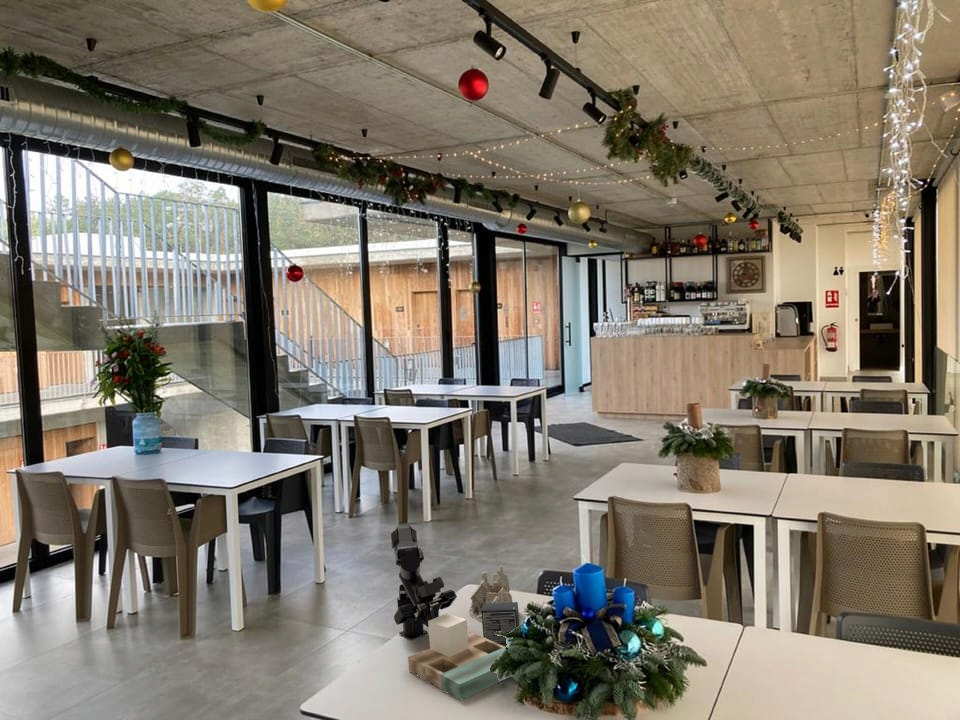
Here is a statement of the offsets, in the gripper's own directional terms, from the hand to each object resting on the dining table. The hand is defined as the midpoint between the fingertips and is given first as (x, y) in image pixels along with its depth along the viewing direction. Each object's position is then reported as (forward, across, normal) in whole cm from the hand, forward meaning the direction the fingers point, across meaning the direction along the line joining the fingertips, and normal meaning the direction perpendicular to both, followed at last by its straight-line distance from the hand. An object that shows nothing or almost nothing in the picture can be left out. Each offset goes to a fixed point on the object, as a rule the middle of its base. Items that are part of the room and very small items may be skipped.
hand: (439, 633), depth 212 cm
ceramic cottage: (-4, +29, +15) cm, 33 cm away
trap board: (+13, 0, -3) cm, 13 cm away
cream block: (+5, 0, -1) cm, 5 cm away
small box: (+8, +19, +3) cm, 21 cm away
